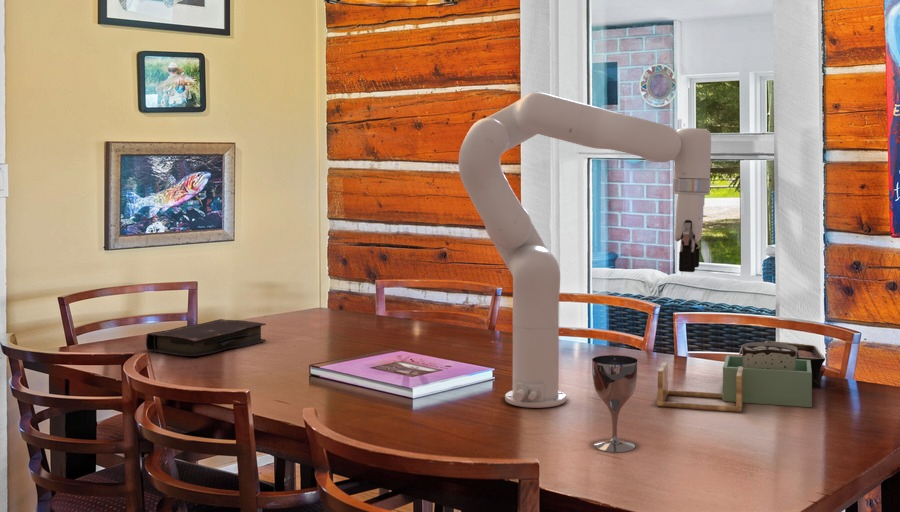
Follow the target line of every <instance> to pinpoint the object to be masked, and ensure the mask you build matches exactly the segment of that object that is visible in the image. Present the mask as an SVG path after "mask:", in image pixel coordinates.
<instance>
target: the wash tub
mask: <svg viewBox="0 0 900 512" xmlns="http://www.w3.org/2000/svg"><path fill="white" fill-rule="evenodd" d="M739 367H743V359H742V355H740V357H739V355H729V354H726V356H725V359H724V362H723V366H722V394H723V398H722V402H731V403H736V376H737V372H738V368H739ZM745 403H746V404H757V405H758V404H759V405H773V406H784V407H785V406H786V407H787V406H788V407H800V408H801V407H803V408H813V384H812V370H811V361H810V360H801V359H796V367H795V371H788V370H772V369H756V368H743V404H745Z"/></svg>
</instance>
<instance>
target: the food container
mask: <svg viewBox="0 0 900 512" xmlns="http://www.w3.org/2000/svg"><path fill="white" fill-rule="evenodd" d="M738 356H739V357H740V356H742V359H743V367H744V368H756V369H772V370H788V371H795V367H796V358H797V357H798V358H800V356H799V351H798V350H797V347H795V346H792V345H788V344H782V343H772V342H766V341H756V342H754V341H753V342H747V343H743V344H741V347H740V348H739V353H738Z"/></svg>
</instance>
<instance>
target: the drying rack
mask: <svg viewBox="0 0 900 512" xmlns="http://www.w3.org/2000/svg"><path fill="white" fill-rule="evenodd" d="M743 368H744V367H739V368H738V372H737V376H736V402H735V404H736V405H735V406H734V405H733V406H731V405H718V404H703V403H689V402H677V401H676V402H675V401H666V400H667V398H668V395H669V396H682V397H697V398H709V399H723V392H721V393H720V392H707V391H706V392H704V391H694V390H693V391H690V390H677V389H676V390H675V389H669V379H668V378H669V375H668V374H669V362H667V361H663V362H661V365H660V367H659V368H658V370H657V401H656V406H657V407H666V408H677V409H678V408H679V409H691V410H693V409H694V410H704V411H705V410H706V411H718V412H733V413H742V410H743V404H744V403H743Z"/></svg>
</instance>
